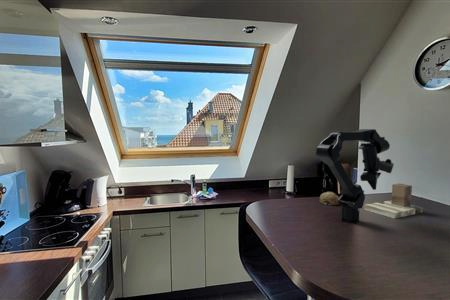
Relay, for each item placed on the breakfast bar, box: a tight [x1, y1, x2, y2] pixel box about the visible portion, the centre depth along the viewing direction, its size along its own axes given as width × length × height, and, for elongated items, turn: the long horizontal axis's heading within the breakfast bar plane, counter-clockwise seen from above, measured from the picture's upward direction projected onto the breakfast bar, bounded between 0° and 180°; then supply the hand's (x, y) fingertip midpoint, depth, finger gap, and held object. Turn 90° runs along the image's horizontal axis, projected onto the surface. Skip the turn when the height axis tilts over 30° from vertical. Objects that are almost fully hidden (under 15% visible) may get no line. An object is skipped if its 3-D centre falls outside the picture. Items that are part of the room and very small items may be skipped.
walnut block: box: [390, 183, 413, 207], centre depth 136 cm, size 6×6×10 cm
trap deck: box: [363, 200, 424, 219], centre depth 134 cm, size 22×15×2 cm
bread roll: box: [319, 191, 340, 206], centre depth 148 cm, size 10×10×8 cm
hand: (374, 189), depth 124 cm, fingers closed
